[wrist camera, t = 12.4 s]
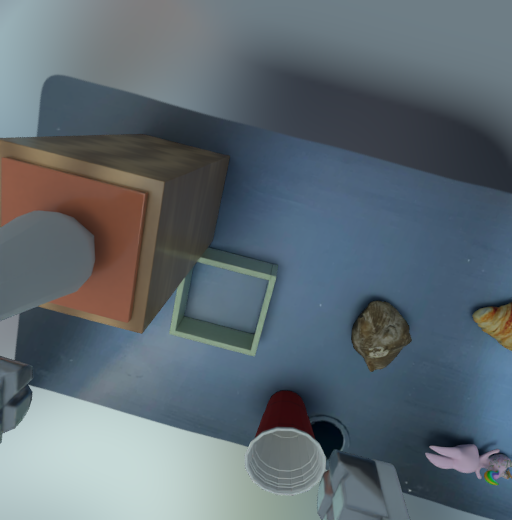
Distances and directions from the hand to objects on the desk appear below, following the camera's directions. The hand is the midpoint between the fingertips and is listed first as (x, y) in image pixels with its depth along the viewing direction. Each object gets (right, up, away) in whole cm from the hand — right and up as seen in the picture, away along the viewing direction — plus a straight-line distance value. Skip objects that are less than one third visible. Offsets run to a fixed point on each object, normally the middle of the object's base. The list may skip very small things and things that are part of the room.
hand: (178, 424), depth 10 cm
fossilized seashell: (+20, -6, +46) cm, 50 cm away
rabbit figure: (+36, -26, +51) cm, 67 cm away
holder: (-2, -1, +46) cm, 46 cm away
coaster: (-11, +6, +18) cm, 22 cm away
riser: (-8, +14, +42) cm, 45 cm away
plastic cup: (+7, -19, +52) cm, 55 cm away
